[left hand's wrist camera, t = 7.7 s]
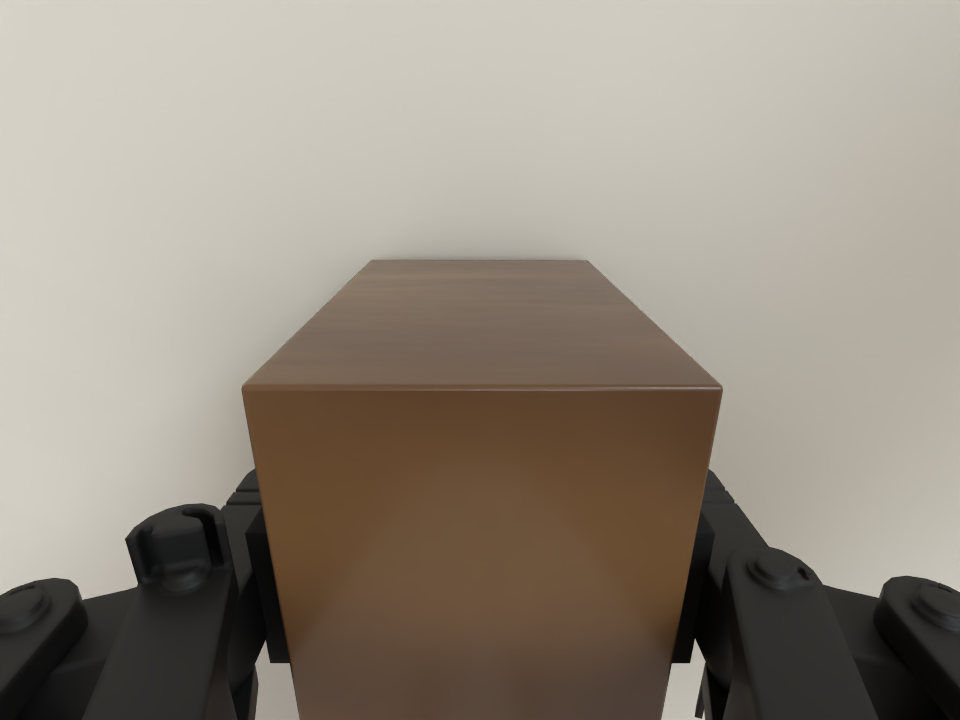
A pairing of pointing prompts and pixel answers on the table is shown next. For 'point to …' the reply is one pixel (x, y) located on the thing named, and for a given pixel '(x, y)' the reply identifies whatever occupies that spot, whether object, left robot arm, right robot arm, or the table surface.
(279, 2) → the table surface
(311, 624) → the beam
